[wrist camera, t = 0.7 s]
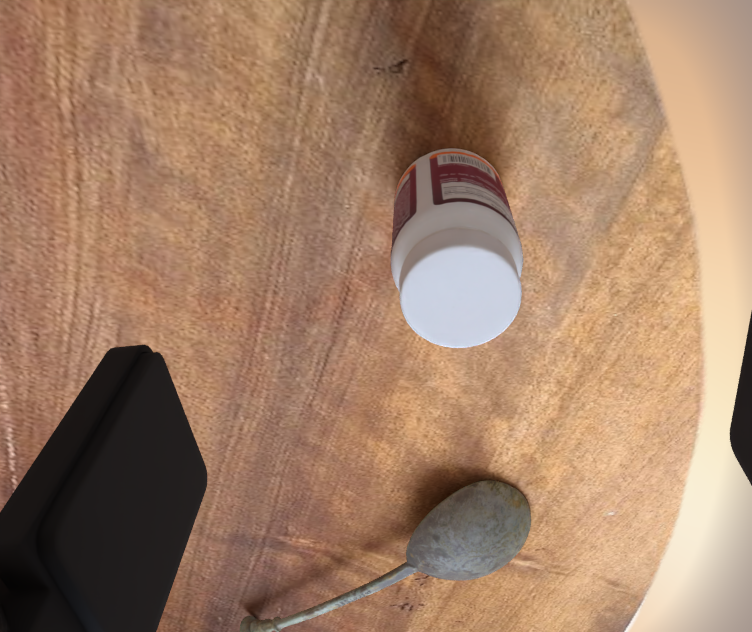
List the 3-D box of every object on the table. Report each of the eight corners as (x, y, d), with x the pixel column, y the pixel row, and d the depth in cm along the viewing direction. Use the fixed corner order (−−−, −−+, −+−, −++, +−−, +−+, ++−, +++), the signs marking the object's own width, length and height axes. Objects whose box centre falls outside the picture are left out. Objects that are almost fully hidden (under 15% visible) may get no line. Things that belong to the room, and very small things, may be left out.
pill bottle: (431, 266, 31) (435, 379, 24) (373, 183, 29) (359, 280, 22) (524, 214, 29) (559, 319, 22) (470, 123, 27) (489, 206, 20)
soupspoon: (549, 517, 40) (490, 449, 38) (560, 563, 37) (496, 491, 35) (279, 644, 48) (215, 593, 45) (270, 690, 45) (201, 638, 42)
